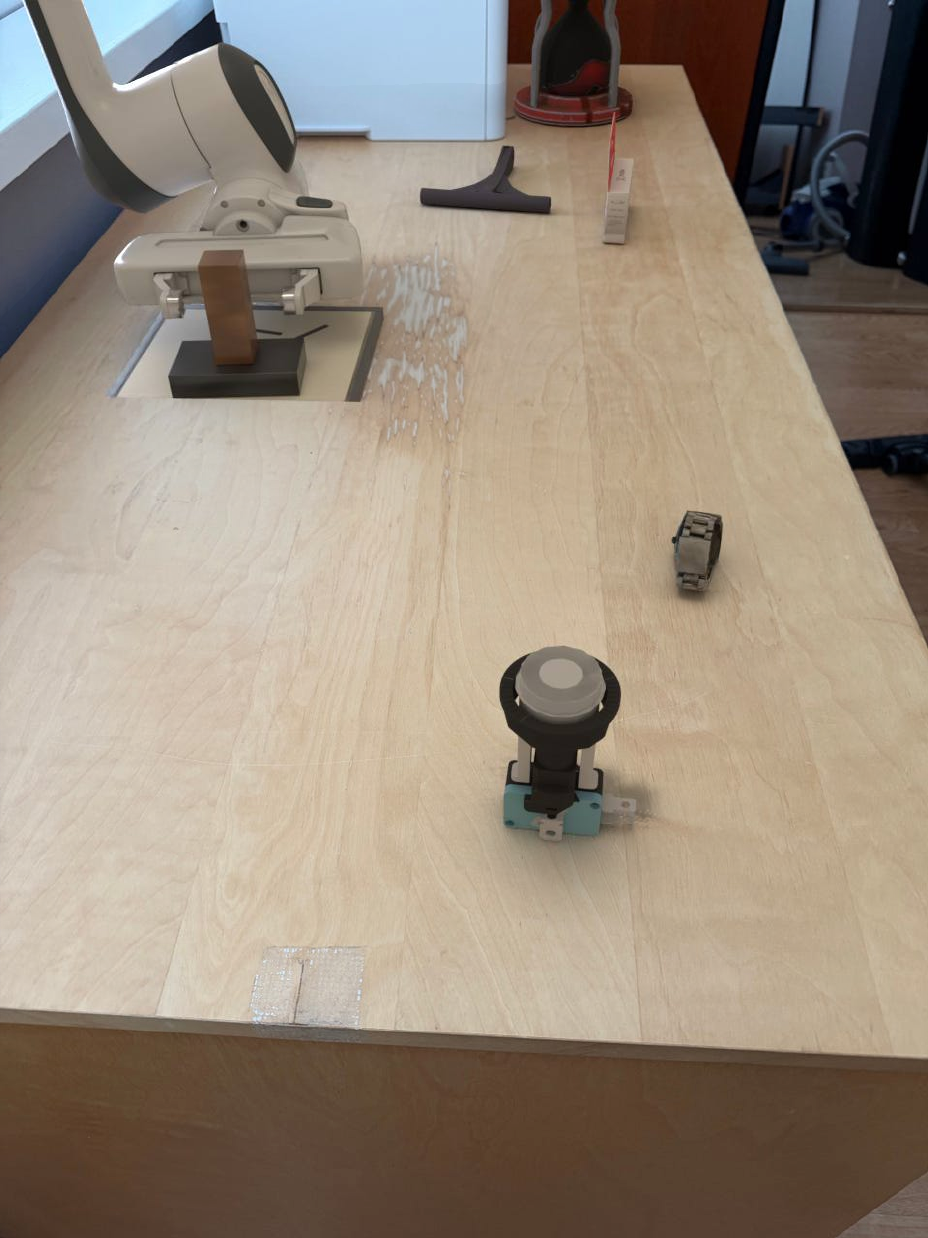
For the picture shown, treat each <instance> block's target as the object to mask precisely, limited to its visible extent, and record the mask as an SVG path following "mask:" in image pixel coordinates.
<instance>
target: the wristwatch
mask: <svg viewBox="0 0 928 1238" xmlns="http://www.w3.org/2000/svg"><path fill="white" fill-rule="evenodd" d="M722 519H723V516H722V515H721V514H717V513H710V512H704V511H698V510H697V511H696V510H688V509H686V512H685V513H684V515H683V517H682V520H681V522H680V524H679V526H677V530H676V533H675V536H672V538H671V543H672V544H673V557H674V562H675V567H674V570H675V572H676V574H675V576H676V578H675V586H676V588H681V589H685V590H690V591H691V590H693V591H700V592H705V591H706V590H707V589H708V585H709V584H710V583H711V580H712V577H713V574H714V571H715V568H716V565H717V563H718V562H719V558H720V553H721V549H722V541H723V533H724V532H723V531H724V523H723V520H722Z"/></svg>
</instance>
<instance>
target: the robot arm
mask: <svg viewBox="0 0 928 1238" xmlns="http://www.w3.org/2000/svg"><path fill="white" fill-rule="evenodd" d="M22 3H23V6H24V8H25V10H26V14H27V16H28V19H29V22H30V23H31V26H32V28H33V31H34V34H35V36H36V39H37V42H38V44H39V47H40V50H41V52H42V55H43V57H44V60H45V62H46V64H47V67H48V69H49V73H50V75H51V78H52V79H53V84H54V85H55V88H56V90H57V93H58V97H59V99H60V101H61V104H62V107H63V110H64V114H65V117H66V120H67V124H68V128H69V131H70V135H71V138H72V142H73V145H74V148H75V151H76V154H77V158H78V161H79V163H80V165H81V168H82V171H83V172H84V174H85V177H86V178H87V181H88V182H89V184H90V185H91V187H92V188H93V190H94V191H95V192H96V194H97V195H98V196H100V198H102V199H103V200H105V201H107V202H109V203H110V204H112V205H114V206H117V207H120V208H122V209H125V210H128V211H131V212H135V213H138V214H142V215H143V214H148V213H150V212H152V211H153V210H156V209H157V208H160V207H162V206H163V205H165V204H167V203H169V202H170V201H172V200H174V199H176V198H178V197H179V195H181V194H183V193H185V192H188V191H190V190H193V189H195V188H198V187H200V186H204V185H206V184H207V183H210V182H213V181H214V182H215V189H214V192H213V195H212V196H211V198H210V201H209V203H208V206H207V207H206V210H205V213H204V215H203V218H202V220H201V223H200V226H199V229H198V230H192V231H190V230H189V231H158V232H149V233H145V234H142V235H139V236H137V237H136V238H134V239H133V240H132V241H130V242H129V243H128V244H127V245H126V246H125V248H124V249H122V250H121V252H120V253H119V255H118V256H117V257H116V259H115V261H114V262H113V272H114V277H115V281H116V286H117V289H118V293H119V296H120V299H121V300H122V301H123V302H125V303H126V304H128V305H129V306H131V307H142V306H143V307H145V306H147V307H148V306H159V307H160V309H161V311H162V315H163V318H164V319H180V318H183V317H184V316H183V315H184V314H185V312H186V309H185V304H204V299H203V293H202V288H201V283H200V278H199V272H198V264H199V262H200V259H201V257H202V254H203V252H204V251H205V250H243V251H244V257H245V263H246V269H247V276H248V282H249V288H250V295H251V301H252V303H270V302H271V303H273V302H274V303H275V302H282V306H284V309H283V310H284V315H303V313H304V307H307V306H312V305H313V304H314V303H317V302H318V301H334V300H335V301H338V300H354V299H356V298H359V297H361V296H363V295H364V293H365V279H364V276H365V275H364V264H363V254H362V246H361V240H360V235H359V233H358V231H357V228H356V227H355V225H354V224H353V223H352V222H350V218H349V213H348V209H347V205H346V203H345V202H343V201H340V200H335V199H327V198H320V197H315V196H314V197H313V196H310V189H309V188H310V187H309V183H308V182H309V181H308V179H307V178H308V177H307V175H306V172H305V169H304V166H303V165H302V162H301V161H300V159H299V157H298V155H297V154H296V152H297V146H298V135H297V131H296V127H295V124H294V121H293V118H292V114H291V111H290V110H289V107H288V105H287V102H286V100H285V97H284V96H283V93H282V92H281V89H280V88H279V86H278V84H277V82H276V80H275V78H274V77H273V76H272V74H271V73H270V71H269V70H268V69H267V68H266V66H265V65H264V64H263V63H262V62H260V61H259V60H258V59H256V58H255V57H253V56H252V55H250V53H247V52H246V51H244V50H243V49H241V48H239V47H236V46H235V45H232V44H229V43H227V42H223V41H222V42H219V43H217V44H214V45H212V46H209V47H207V48H205V49H202V50H200V51H197V52H195V53H192V54H190V55H188V56H186V57H184V58H183V57H182V58H181V59H178V60H177V61H174V62H173V63H172V64H171V65H167V66H166V67H164V68H161V69H159V70H157V71H155V72H152V73H149V74H147V75H145V76H143V77H141V78H138V79H136V80H134V81H131V82H130V83H127V84H123V85H120V84H117V83H116V82H114V80H113V79H112V78H111V76H110V73H109V70H108V68H107V65H106V62H105V59H104V57H103V53H102V50H101V48H100V45H99V42H98V39H97V37H96V33H95V31H94V27H93V25H92V22H91V20H90V16H89V14H88V12H87V11H88V10H87V8H86V6H85V3H84V0H22ZM204 305H205V304H204Z"/></svg>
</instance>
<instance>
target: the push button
mask: <svg viewBox="0 0 928 1238" xmlns="http://www.w3.org/2000/svg"><path fill="white" fill-rule="evenodd" d="M498 697H499V704H500V706H501V709H502V711H503V715H504V717H505V722H506V725H507V727H508V729H510V731H512V732H513V733H514V734H515V735H516V736H517V759H512V760H510V761H508V765H507V771H506V778H505V784H504V792H503V815H502V816H503V817H502V820H503V822H502V823H503V825H504V826H505V827H506V828H510V829H525V830H534V831H539V836H538V837H539V838H540V839H541V840H543V841H553V842H559V841H561V840H563V834H572V835H579V836H580V835H581V836H590V837H595V836H597V835H599V834H600V827H601V825H610V826H611V825H612V823H613V824H614V823H615V824H622V825H623V824H624V825H625V824H626V825H634V824H635V813H636V812H637V799H635V798H629V797H619V796H615V795H614V794H613V793H611V794H610V793H604V792H603V790H604V776H605V775H604V770H603V769H601V768H598V767H594V766H595V755H596V746H597V743H599V742H601V741H602V740H603V739H604V738H605V737H606V735H607V732H608V729H609V726H610V724H611V723H612V722H613V720H615V718H616V716H617V715H618V712H619V710H620V706H621V701H622V689H621V684H620V682H619V680H618V677H617V675H615V673H614V671H613V670H612V669H611V668H610V667H609V666H608V664H607V665H606V663H604V662H603V661H601V660H600V659H598V658H597V657H595V656H593V655H590V654H589V653H587V652H586V651H584V650H583V649H579V648H577V647H576V648H575V647H572V646H568V645H555V646H554V645H553V646H551V645H550V646H545V647H542V648H540V649H537V650H535V651H531V652H529V653H527V654H524V655H522V656H521V657H519V658H517V659H516V660H514V661H513V662H512V663H511V664H510V665H508V667H507V668H506V669H505V671H504V672H503V673H502V676H501V678H500V682H499V687H498ZM517 699H518V703H517V701H516V700H517ZM600 705H602V707H601V709H600ZM533 749H534V754H533ZM579 750H581V752H580V764H578V757H579V756H578V755H579V754H578V753H579ZM532 754H533V761H532ZM624 803H627V804H629V806H628V807H624V806H623V804H624ZM621 815H626V816H627V818H626V819H623V818H621ZM547 832H552V833H555V834H553V835H552V834H548V833H547Z"/></svg>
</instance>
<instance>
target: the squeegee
mask: <svg viewBox="0 0 928 1238" xmlns="http://www.w3.org/2000/svg"><path fill="white" fill-rule="evenodd" d="M515 153H516V152H515V147H514V146H513V145H501V148H500V152H499V155H498V158H497V161H496V163H495V166H494V168H493V170H492V173H490V174H489V175H488V176H487V177H484V178H483V179H481V180H479V181H477V182H475V183H473V184H470V185H465V186H462V187H458V188H452V189H445V188H444V189H443V188H430V187H421V188H420V191H419V202H420V204H421V205H432V206H434V205H435V206H449V207H460V208H476V209H487V210H488V209H490V210H504V211H514V212H515V211H516V212H530V213H531V212H532V213H544V214H550V213H551V210H552V209H551V208H552V196H547V195H532V194H531V195H530V194H527V193H525V192H522V191H521V190H519V189H517V188H516V187H514V186H513V185H512V184H511V182H510V181H509V177H510V175H511V173H512V171H513V169H514V165H515V155H516V154H515Z"/></svg>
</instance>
